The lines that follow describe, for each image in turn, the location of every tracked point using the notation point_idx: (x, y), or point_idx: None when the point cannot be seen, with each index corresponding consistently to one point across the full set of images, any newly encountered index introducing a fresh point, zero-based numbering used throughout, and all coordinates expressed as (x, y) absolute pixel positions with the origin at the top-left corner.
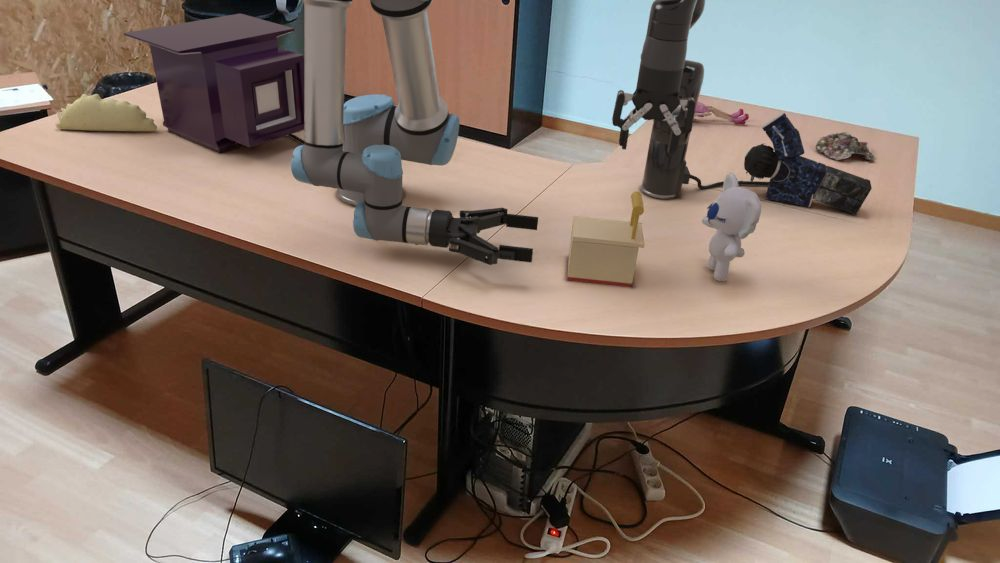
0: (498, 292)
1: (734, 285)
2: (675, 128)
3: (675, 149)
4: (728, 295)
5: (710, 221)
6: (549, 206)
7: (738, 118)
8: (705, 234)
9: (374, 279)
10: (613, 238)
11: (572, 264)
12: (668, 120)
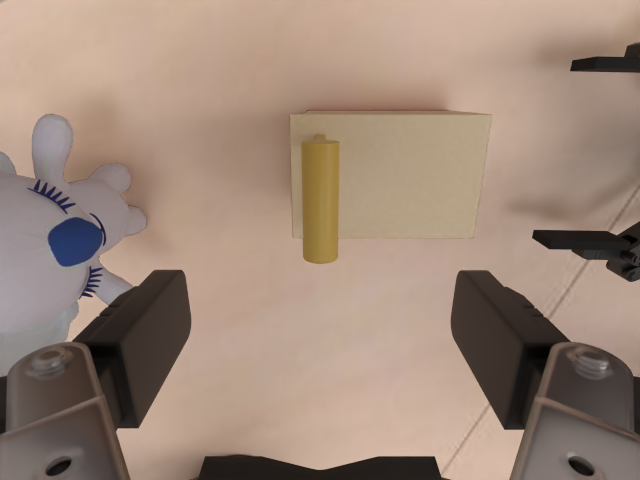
0: (609, 21)
1: (90, 162)
2: (53, 388)
3: (130, 292)
4: (100, 117)
5: (113, 284)
6: (456, 393)
7: None
8: None
9: None
10: (376, 128)
11: (453, 111)
12: (93, 450)
